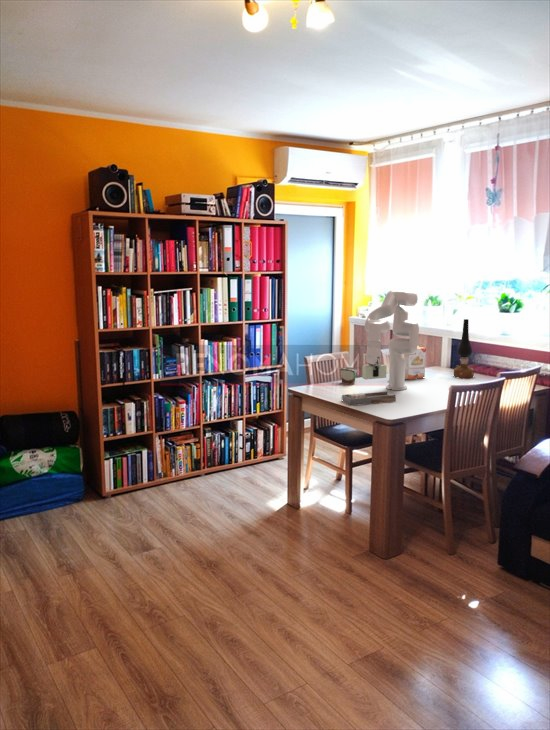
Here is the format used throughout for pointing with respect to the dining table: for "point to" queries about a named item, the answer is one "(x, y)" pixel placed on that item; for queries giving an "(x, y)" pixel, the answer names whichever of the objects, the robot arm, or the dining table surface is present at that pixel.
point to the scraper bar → (368, 372)
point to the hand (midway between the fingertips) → (373, 375)
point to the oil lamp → (464, 355)
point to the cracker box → (415, 364)
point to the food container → (348, 375)
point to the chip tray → (356, 400)
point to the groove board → (380, 397)
